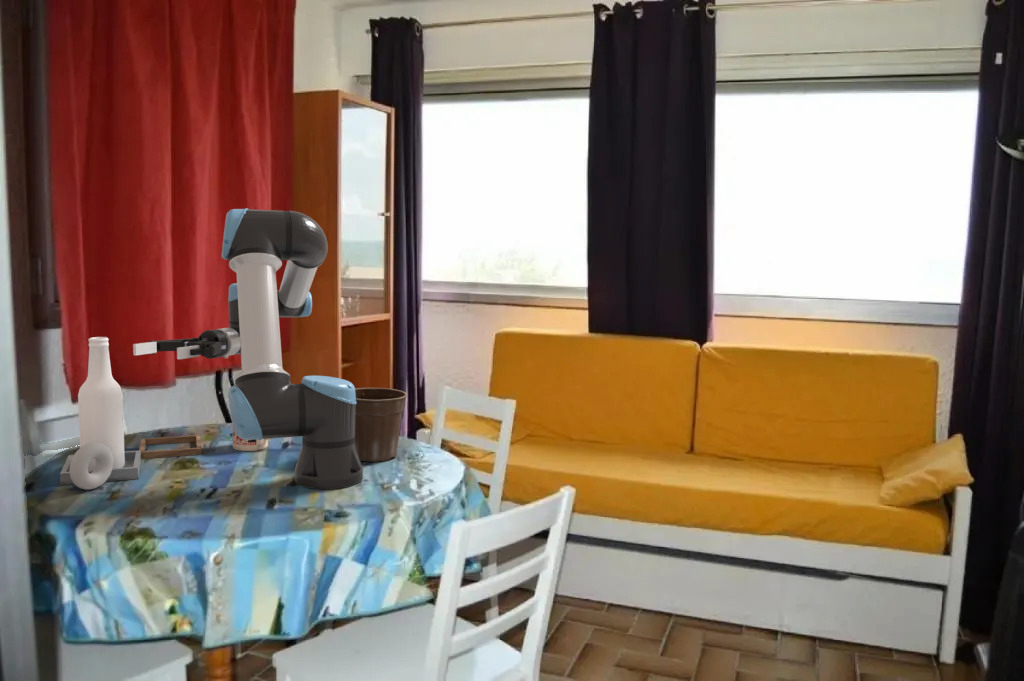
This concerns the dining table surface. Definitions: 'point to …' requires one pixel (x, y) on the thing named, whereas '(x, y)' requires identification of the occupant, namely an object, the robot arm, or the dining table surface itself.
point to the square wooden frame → (170, 452)
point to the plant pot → (378, 422)
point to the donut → (81, 463)
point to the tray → (125, 473)
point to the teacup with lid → (248, 443)
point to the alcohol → (101, 404)
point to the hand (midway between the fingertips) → (155, 351)
